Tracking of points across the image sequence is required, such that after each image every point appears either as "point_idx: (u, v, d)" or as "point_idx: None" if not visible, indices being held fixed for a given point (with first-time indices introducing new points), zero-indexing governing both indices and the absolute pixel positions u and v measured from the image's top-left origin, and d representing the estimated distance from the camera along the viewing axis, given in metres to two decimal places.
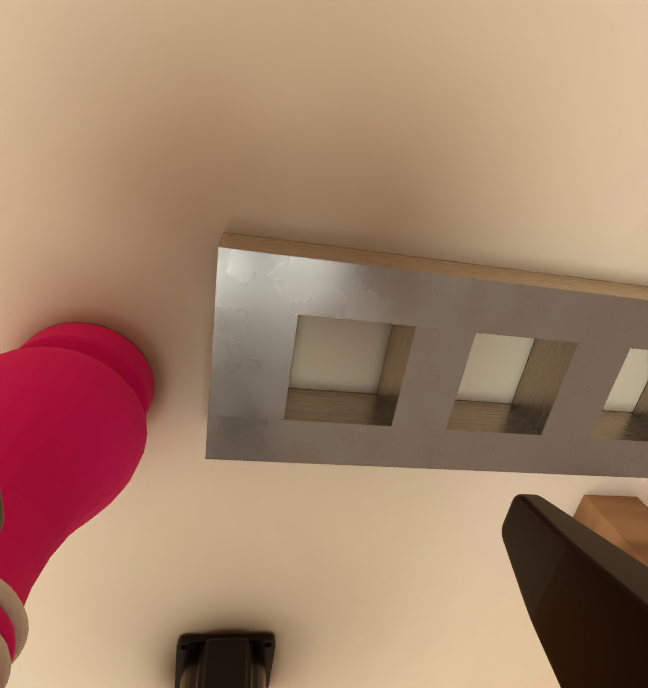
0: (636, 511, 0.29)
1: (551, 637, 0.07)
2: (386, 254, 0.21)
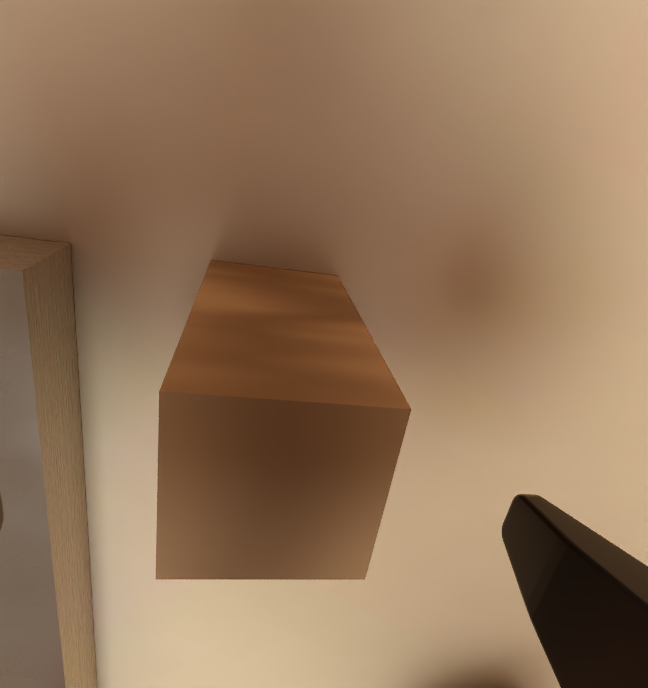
0: None
1: (551, 637, 0.07)
2: None
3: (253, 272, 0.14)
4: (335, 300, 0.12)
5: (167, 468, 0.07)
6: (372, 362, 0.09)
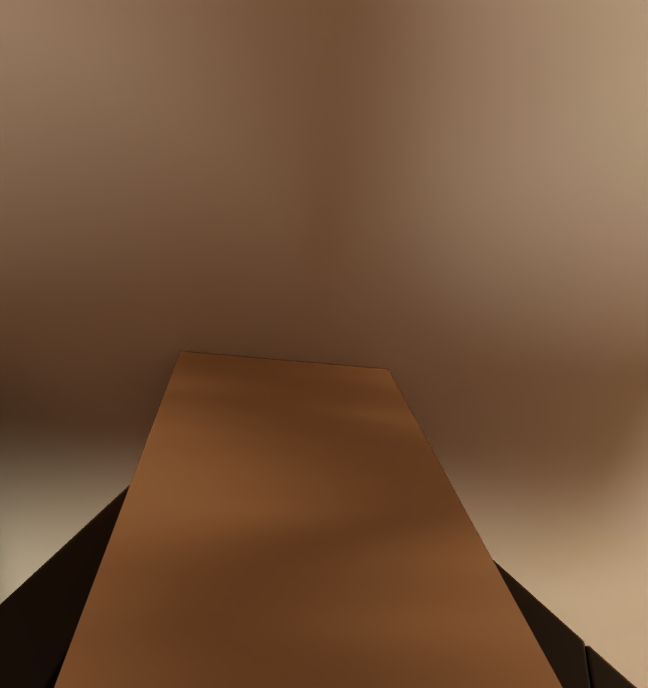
0: None
1: None
2: None
3: (251, 378, 0.08)
4: (402, 449, 0.07)
5: None
6: None
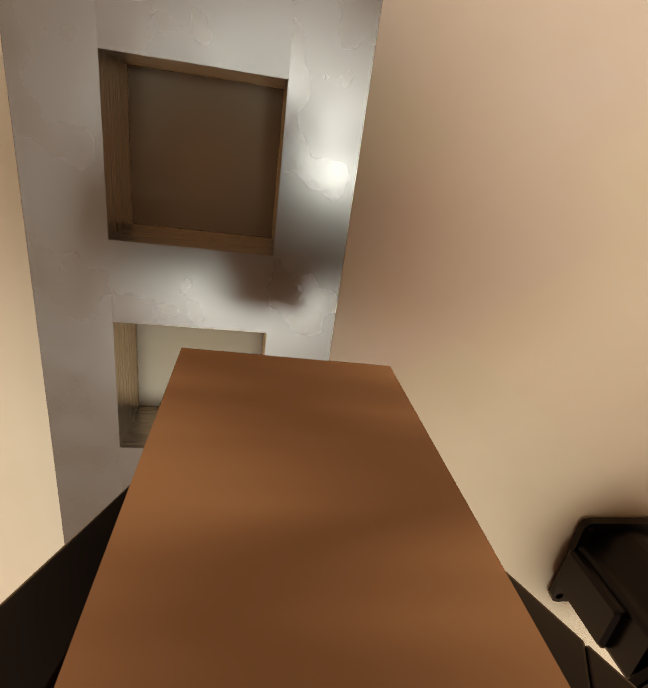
0: None
1: None
2: None
3: (252, 374, 0.08)
4: (404, 445, 0.07)
5: None
6: None
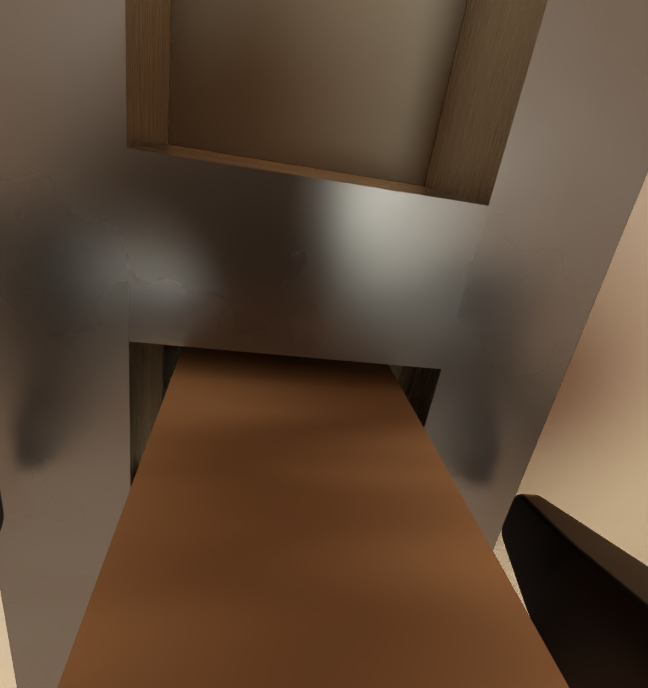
0: None
1: (551, 637, 0.07)
2: None
3: None
4: (373, 380, 0.08)
5: None
6: (463, 539, 0.05)
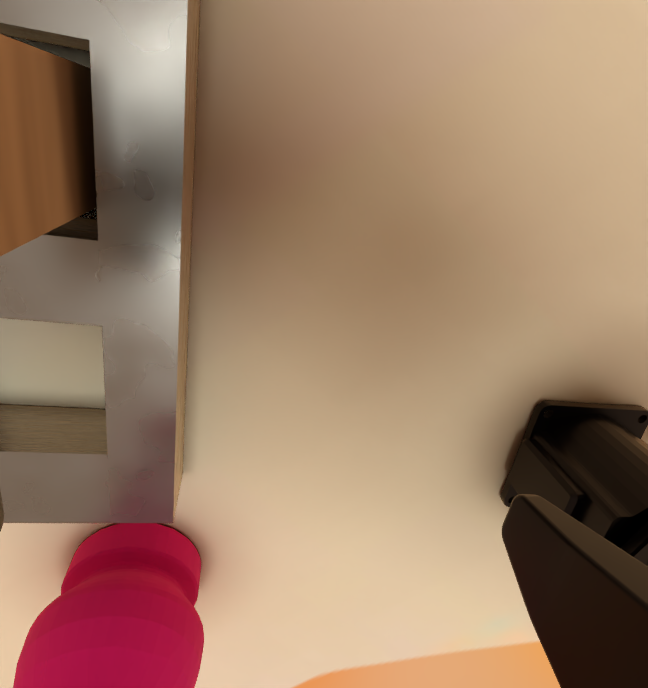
0: None
1: (551, 637, 0.07)
2: None
3: None
4: None
5: None
6: None
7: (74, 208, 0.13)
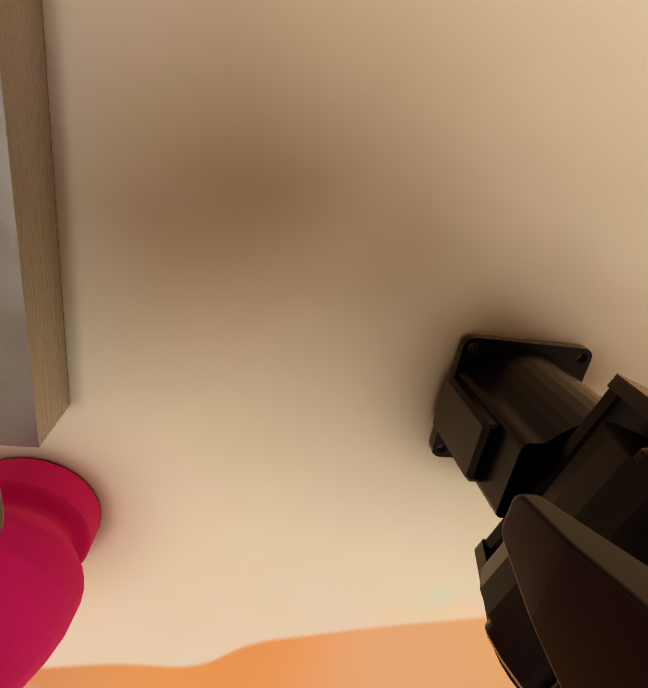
0: None
1: (551, 637, 0.07)
2: None
3: None
4: None
5: None
6: None
7: None
